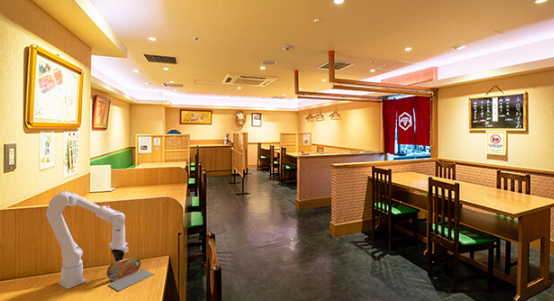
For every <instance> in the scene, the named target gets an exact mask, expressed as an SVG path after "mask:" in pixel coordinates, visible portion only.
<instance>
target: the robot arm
mask: <svg viewBox="0 0 554 301" xmlns="http://www.w3.org/2000/svg"><path fill="white" fill-rule="evenodd" d="M68 205H69V207H76V206H79V207H81V208H83V209H86V210H88V211H90V212H93V213H95V216H96V217H97V218H100V219H102V220H104V221H105V222H110V224H111V225H112V228H111V242H109V243H108V244H109V245H108V246H109V248H111V250H110V252H111V254H112V255H113V258H114V262H118V261H121V260H123V259H124V255H125V254H126V253H128V252H129V251H130V250H129V247H128V246H127V245H128V244H129V243H128V242H126V224H125V223H126V215H125V214H124V212H122V211H119V210H115V209H113V208H110V207H111V206H109V205H98V204H96V203H95V202H92V201H91V200H88V199H86V198H84V197H83V196H81V195H79V194H77V193H74V192H71V191H70V190H62V191H60V192H58V194H56V195H54V196H53V197H52V198H51V200H49V201H48V206H47V210H46V213H45V215H46V219H47V221H48V223H49V225H50V227H51V229H52V231H53V234H54V236H55V238H56V240H57V242H58V245H59V248H60V249H61V257H62V261H61V262H62V266H61V267H60V268H61V269H60V281H59V282H58V284H59V285H60V286H61V287H63V288H64V289H66V290H69V289H71V288H74V287H76V286H79V285H81V284H83V283H86V282H87V279H86V278H85V277H84V265H83V262H84V261H83V260H82V256H83V255H84V254H83V253H84V251H83V249H82V247H81V248H80V247H79V246H78V244H77V243H76V242H75V240H74V239H73V237H72V234H71V232H70V230H69V227H68V224H67V223H66V220H65V218H64V216H63V214H62V212H63V211H64V210H65V208H66V207H67V206H68Z"/></svg>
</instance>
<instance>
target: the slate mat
mask: <svg viewBox="0 0 554 301" xmlns="http://www.w3.org/2000/svg"><path fill="white" fill-rule="evenodd" d="M154 274H155V273H152V272H150V271H148V270H146V269H144V268H143V269H141V270H138V271H137V272H136V273H134V274H132V275H129V276H127V277H124V278H122V279H119V280H116V281H114V282H112V283H110V284H108V285H107V286H108V287H110V288H112V289H114V290H115V291H117V292H121V291H123V290H125V289H127V288H129V287H131V286H133V285H136V284H137V283H140V282H141V281H144V280H146V279H147V278H150V277H152V276H154Z"/></svg>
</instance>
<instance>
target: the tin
mask: <svg viewBox="0 0 554 301" xmlns="http://www.w3.org/2000/svg"><path fill="white" fill-rule="evenodd" d="M141 264H142V262H141V260H140V258H139V257H137V256H129V257H126V258H123V260H121V261H118V262H116V261H114V262H113V263H111V264H110V265H109V266H108V268H107V269H106V277H107V278H108V279H109V280H110V281H114V282H116V281H118V280H120V279H123V278H125V277H127V276H129V275H132V274H134V273H136V272H138V271H139V270H140V268H141Z"/></svg>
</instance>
